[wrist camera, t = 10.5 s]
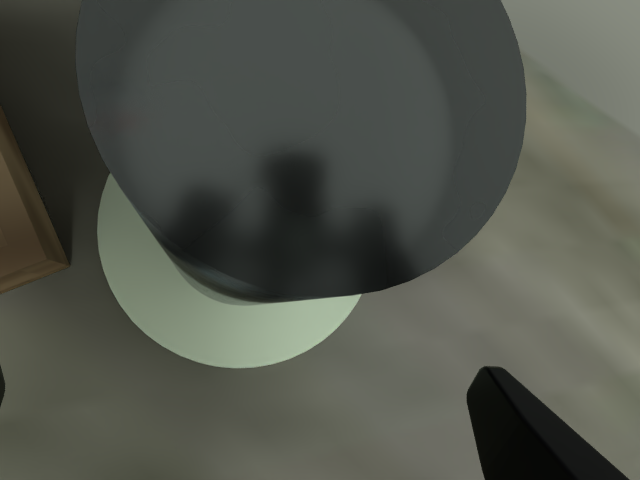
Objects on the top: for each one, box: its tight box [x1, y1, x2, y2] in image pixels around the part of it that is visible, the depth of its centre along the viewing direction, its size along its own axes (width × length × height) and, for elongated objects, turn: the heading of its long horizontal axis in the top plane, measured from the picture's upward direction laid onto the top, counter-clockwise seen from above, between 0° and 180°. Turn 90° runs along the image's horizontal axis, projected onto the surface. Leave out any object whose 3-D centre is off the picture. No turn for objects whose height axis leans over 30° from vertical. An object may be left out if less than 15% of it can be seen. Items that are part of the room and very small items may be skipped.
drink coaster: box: [97, 172, 361, 368], centre depth 18 cm, size 10×10×1 cm
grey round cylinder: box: [75, 0, 526, 306], centre depth 12 cm, size 6×6×12 cm
